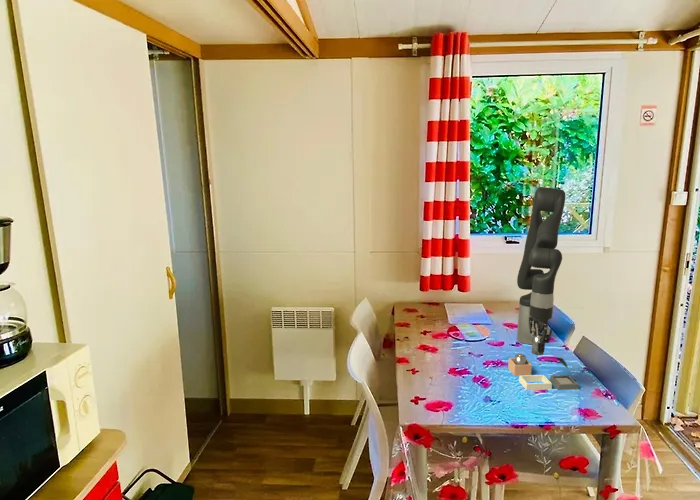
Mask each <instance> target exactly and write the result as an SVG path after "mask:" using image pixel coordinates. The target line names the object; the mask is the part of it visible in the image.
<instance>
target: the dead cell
mask: <svg viewBox="0 0 700 500" xmlns="http://www.w3.org/2000/svg"><path fill="white" fill-rule="evenodd" d="M514 358H515V364H516V365H525V364H526V360H527V356H526V355H525V354H522V353H516V354H515V355H514Z"/></svg>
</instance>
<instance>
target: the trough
mask: <svg viewBox="0 0 700 500" xmlns="http://www.w3.org/2000/svg"><path fill="white" fill-rule="evenodd" d="M549 380H550V379H548V378H547V376H546V375H544V374H531V375H523V376H518V382H519V383H520V384H521V386H522V387H523V388H524V389H525V390H526V391H537V390H538V391H540V390H544V391H545V390H552V388H553V387H552V386H553V385H552V383H551V382H550V381H549ZM530 382H531V383H530ZM533 382H534V383H533ZM535 382H536V383H535Z"/></svg>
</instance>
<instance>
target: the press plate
mask: <svg viewBox="0 0 700 500" xmlns="http://www.w3.org/2000/svg"><path fill="white" fill-rule="evenodd" d="M555 379H556V380H557V381H558V382H559V383H560V384H572V382H571V381H570V380H569V379H568V378H555Z"/></svg>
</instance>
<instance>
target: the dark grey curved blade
mask: <svg viewBox="0 0 700 500" xmlns="http://www.w3.org/2000/svg"><path fill="white" fill-rule="evenodd" d="M555 359H557V360H558V362H560V363H561V364H562V365H563V366H564V367H565V368H568V367H567V364H566V362H565V359H564V358H562V357H557V356H556V357H555Z"/></svg>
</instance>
